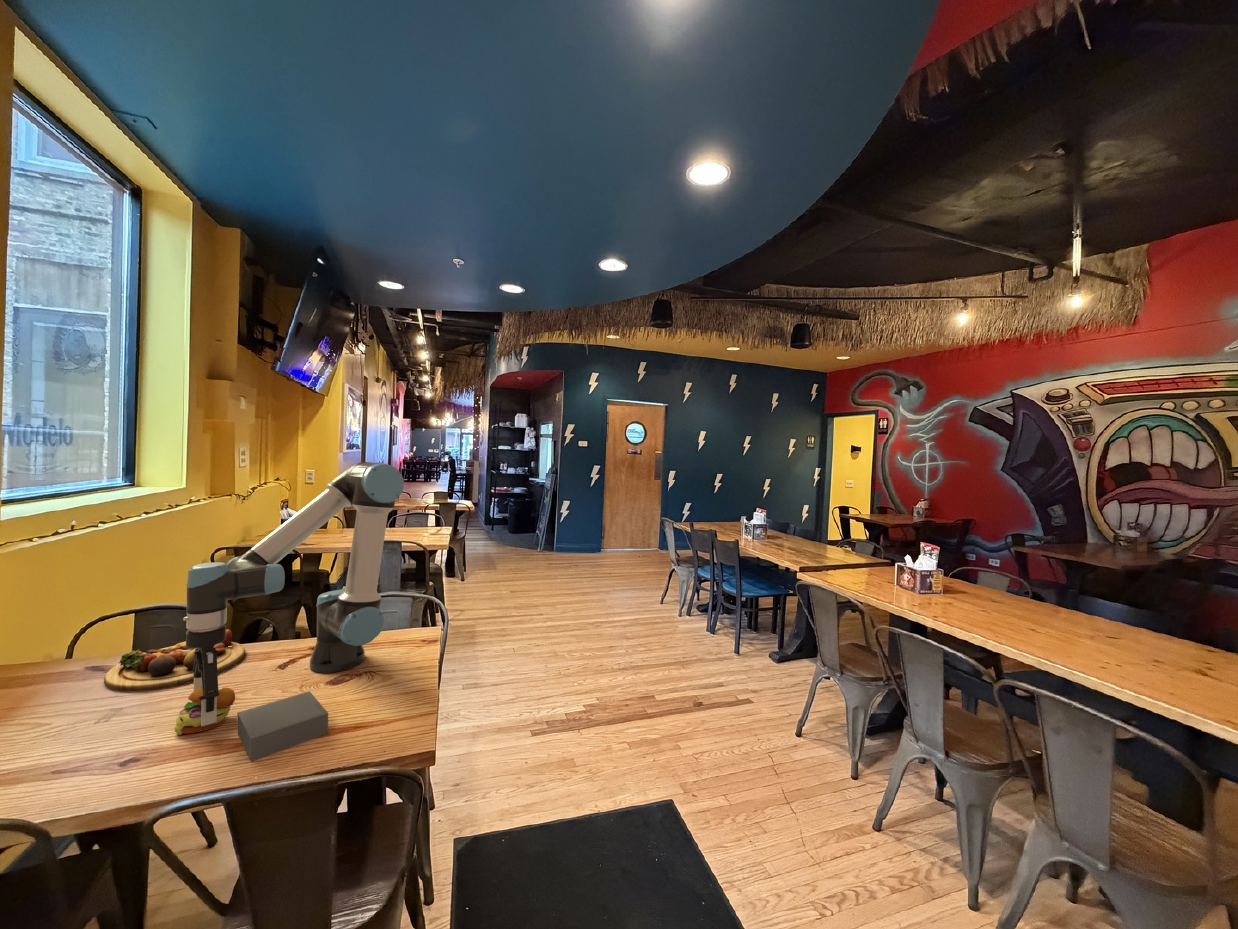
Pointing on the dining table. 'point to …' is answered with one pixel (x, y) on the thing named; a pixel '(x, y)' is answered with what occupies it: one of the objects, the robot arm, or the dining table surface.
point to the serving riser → (281, 725)
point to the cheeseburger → (192, 711)
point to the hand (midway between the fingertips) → (204, 713)
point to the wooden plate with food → (166, 666)
